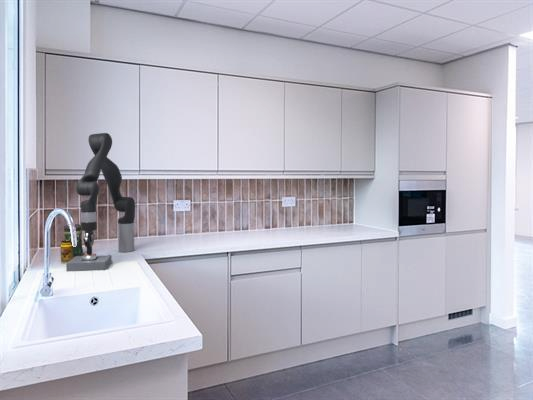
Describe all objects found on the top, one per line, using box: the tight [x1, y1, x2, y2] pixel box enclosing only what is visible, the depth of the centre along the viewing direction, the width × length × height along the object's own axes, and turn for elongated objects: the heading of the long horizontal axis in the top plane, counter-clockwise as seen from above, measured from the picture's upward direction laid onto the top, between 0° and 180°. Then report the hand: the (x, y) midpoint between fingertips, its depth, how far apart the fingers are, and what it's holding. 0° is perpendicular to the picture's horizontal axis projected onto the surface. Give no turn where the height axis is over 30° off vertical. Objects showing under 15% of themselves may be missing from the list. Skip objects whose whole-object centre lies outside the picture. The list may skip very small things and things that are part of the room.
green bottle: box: [63, 223, 84, 258], centre depth 227 cm, size 10×8×19 cm
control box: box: [65, 254, 112, 272], centre depth 205 cm, size 16×18×4 cm
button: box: [83, 252, 97, 261], centre depth 205 cm, size 6×6×4 cm
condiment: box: [58, 239, 73, 264], centre depth 215 cm, size 7×8×12 cm
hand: (89, 254), depth 204 cm, fingers closed
